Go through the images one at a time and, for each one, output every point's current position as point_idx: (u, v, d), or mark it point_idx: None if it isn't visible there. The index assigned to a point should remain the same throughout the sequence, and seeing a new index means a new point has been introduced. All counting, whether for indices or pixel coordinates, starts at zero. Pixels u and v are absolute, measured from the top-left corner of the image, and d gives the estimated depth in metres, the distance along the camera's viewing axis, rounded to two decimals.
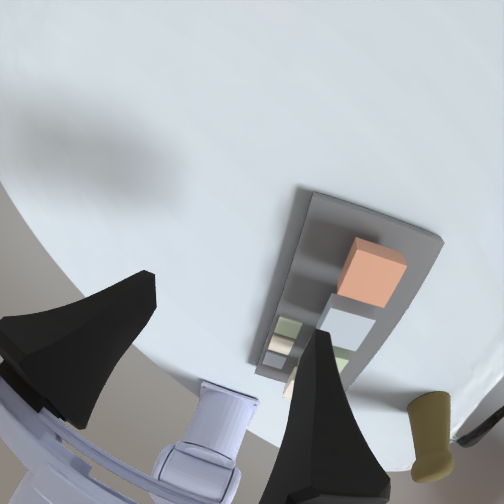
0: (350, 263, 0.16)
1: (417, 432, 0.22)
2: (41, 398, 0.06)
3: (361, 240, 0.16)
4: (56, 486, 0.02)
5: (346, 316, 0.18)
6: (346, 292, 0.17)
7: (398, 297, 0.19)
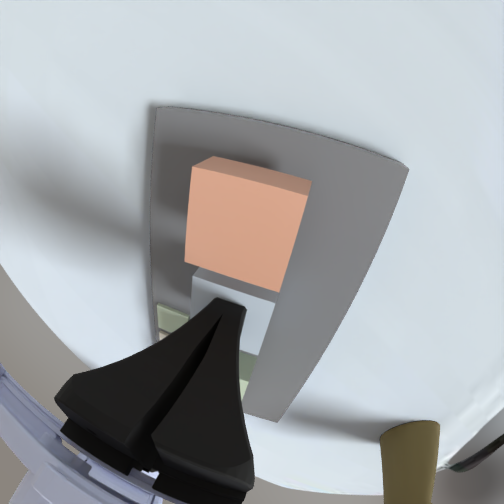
0: None
1: (388, 475, 0.15)
2: (132, 460, 0.05)
3: (221, 159, 0.09)
4: (56, 486, 0.02)
5: (221, 292, 0.11)
6: (198, 258, 0.09)
7: (332, 278, 0.12)
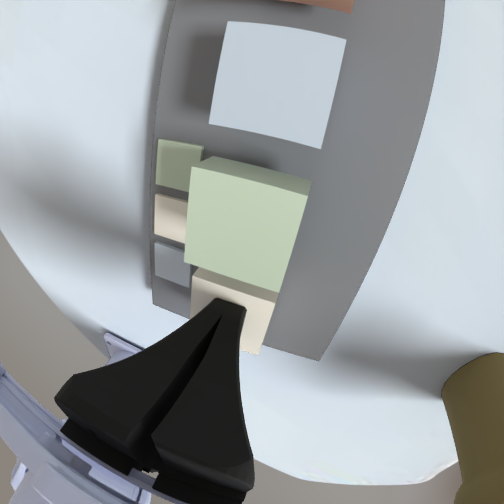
0: None
1: (467, 430, 0.10)
2: (132, 460, 0.05)
3: None
4: (56, 486, 0.02)
5: (268, 34, 0.06)
6: None
7: (402, 59, 0.07)
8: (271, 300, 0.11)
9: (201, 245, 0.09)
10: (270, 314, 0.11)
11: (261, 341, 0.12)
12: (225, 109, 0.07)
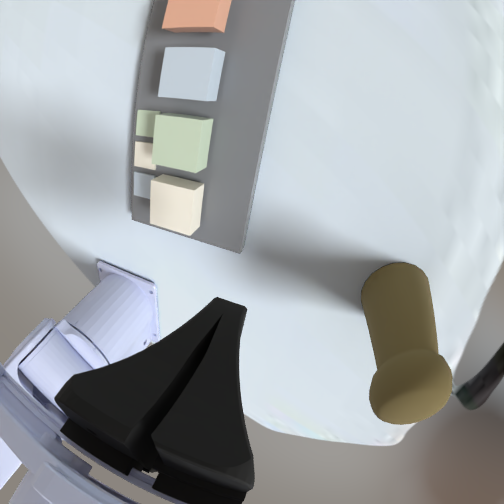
0: None
1: (375, 323, 0.17)
2: (132, 460, 0.05)
3: None
4: (56, 486, 0.02)
5: (182, 52, 0.13)
6: (169, 23, 0.11)
7: (259, 49, 0.14)
8: (192, 189, 0.18)
9: (159, 152, 0.17)
10: (192, 199, 0.18)
11: (190, 222, 0.19)
12: (165, 89, 0.14)
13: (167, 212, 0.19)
